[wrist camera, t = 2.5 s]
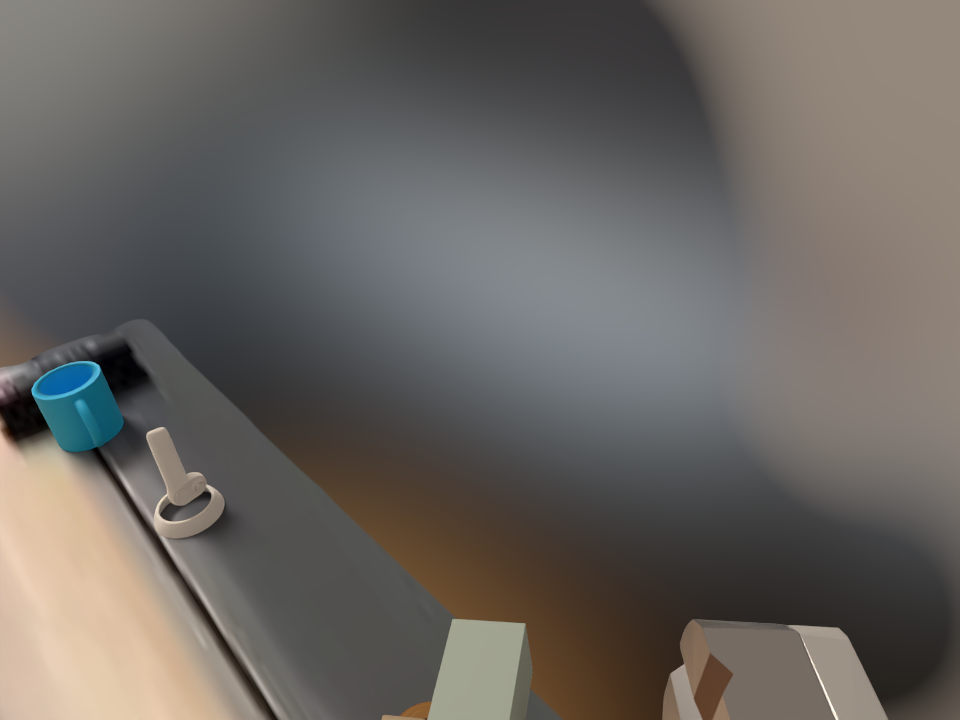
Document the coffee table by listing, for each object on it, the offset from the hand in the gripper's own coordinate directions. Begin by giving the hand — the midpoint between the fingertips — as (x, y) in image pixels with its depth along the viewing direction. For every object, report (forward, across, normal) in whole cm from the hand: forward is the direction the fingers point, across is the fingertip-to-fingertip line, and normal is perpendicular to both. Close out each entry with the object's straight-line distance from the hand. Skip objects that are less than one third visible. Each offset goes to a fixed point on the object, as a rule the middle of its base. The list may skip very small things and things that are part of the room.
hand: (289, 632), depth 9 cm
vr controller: (+65, -24, -58) cm, 90 cm away
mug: (+81, -40, -61) cm, 109 cm away
